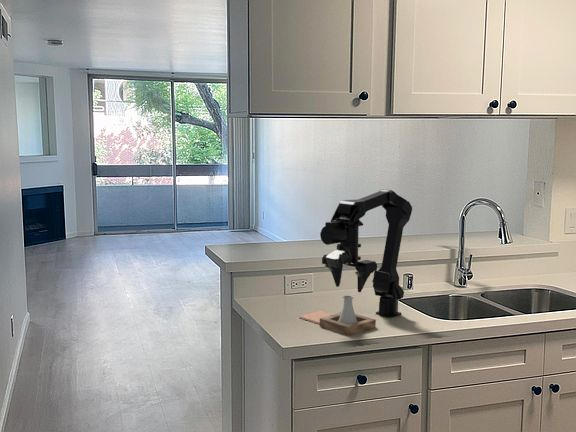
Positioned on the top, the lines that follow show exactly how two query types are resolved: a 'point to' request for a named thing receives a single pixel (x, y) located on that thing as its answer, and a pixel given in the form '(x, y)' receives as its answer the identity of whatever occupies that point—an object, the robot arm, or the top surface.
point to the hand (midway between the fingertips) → (348, 289)
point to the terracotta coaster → (315, 316)
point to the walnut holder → (351, 329)
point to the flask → (347, 311)
